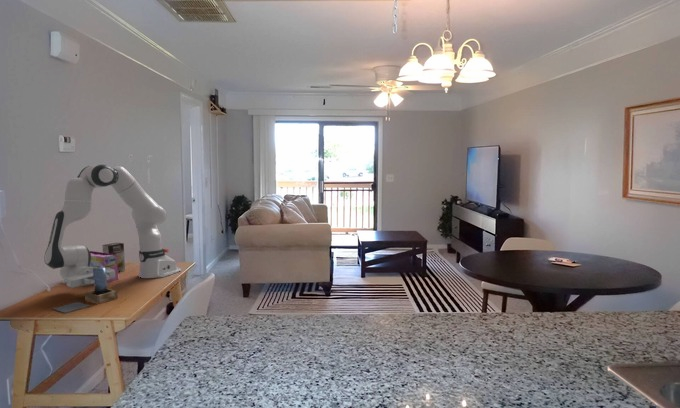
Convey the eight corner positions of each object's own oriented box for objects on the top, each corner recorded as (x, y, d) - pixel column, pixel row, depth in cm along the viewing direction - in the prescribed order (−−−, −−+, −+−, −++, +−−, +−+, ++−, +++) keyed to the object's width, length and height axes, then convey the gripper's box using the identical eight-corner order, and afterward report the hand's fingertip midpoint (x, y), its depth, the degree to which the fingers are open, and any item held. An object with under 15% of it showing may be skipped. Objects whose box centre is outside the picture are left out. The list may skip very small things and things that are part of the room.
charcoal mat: (77, 302, 194) (77, 301, 194) (89, 306, 189) (89, 305, 189) (53, 309, 186) (52, 308, 185) (65, 313, 180) (65, 312, 180)
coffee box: (110, 274, 243) (108, 245, 241) (103, 273, 246) (101, 245, 244) (125, 270, 251) (123, 243, 249) (118, 269, 254) (116, 242, 252)
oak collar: (106, 295, 204) (105, 287, 204) (117, 298, 199) (117, 290, 199) (85, 300, 197) (85, 293, 196) (97, 304, 192) (96, 296, 191)
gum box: (76, 278, 237) (75, 253, 235) (91, 274, 244) (89, 250, 242) (105, 283, 225) (103, 257, 224) (119, 279, 232) (117, 254, 231)
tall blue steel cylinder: (104, 296, 201) (101, 266, 200) (110, 297, 199) (107, 267, 197) (93, 299, 197) (90, 268, 196) (99, 300, 194) (96, 270, 193)
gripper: (59, 274, 195) (76, 278, 188) (105, 264, 212) (121, 268, 205) (61, 288, 196) (77, 293, 188) (106, 277, 213) (122, 281, 206)
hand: (100, 280), depth 197 cm, fingers closed on tall blue steel cylinder, 5 cm apart
